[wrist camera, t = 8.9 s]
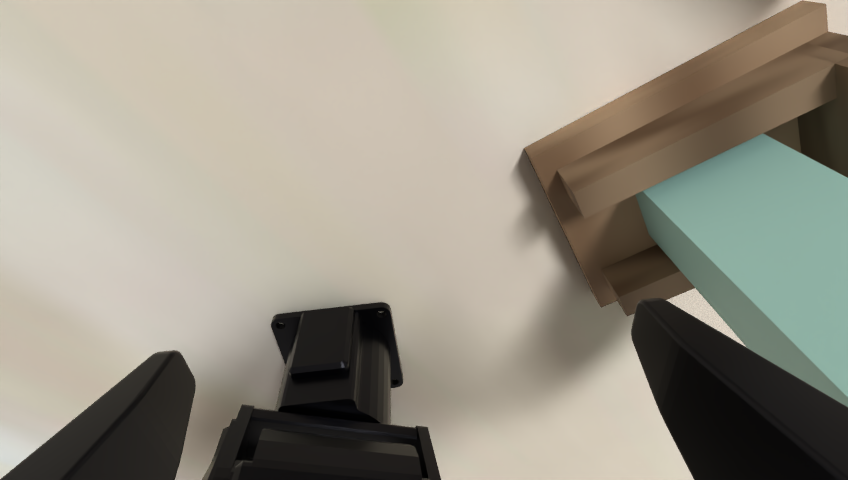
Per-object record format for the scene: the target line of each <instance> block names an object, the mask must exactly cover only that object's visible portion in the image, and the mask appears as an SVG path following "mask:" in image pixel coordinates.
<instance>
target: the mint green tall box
mask: <svg viewBox="0 0 848 480" xmlns="http://www.w3.org/2000/svg"><path fill="white" fill-rule="evenodd" d="M635 195H636V198H637V201H638V204H639V207H640V210H641V213H642V216H643V218H644V221H645V224H646V227H647V230H648V233H649V235H650V236H651V238H652V239H653V240H654V241H655V242H656V243H657V244H658V246H659V247H660V248H661V249H662V250H663V251H664V252H665V254H666V255H667V256H668V257H669V258H670V259H671V260H672V262H673V263H674V264H675V265H676V266H677V267H678V268H679V270H680V271H681V272H682V273H683V274H684V275H685V277H686V278H687V279H688V280H689V281H690V282H691V283H692V285H693V286H694V287H695V288H696V289H697V290H698V291H699V293H700V294H701V295H702V296H703V297H704V298H705V299H706V301H707V302H708V303H709V304H710V305H711V306H712V308H713V309H714V310H715V311H716V312H717V313H718V314H719V316H720V317H721V318H722V319H723V320H724V321H725V322H726V324H727V325H728V326H729V327H730V328H731V329H732V330H733V332H734V333H735V334H736V335H737V336H738V337H739V338H740V340H741V341H742V342H743V343H744V344H745V345H746V347H747V348H748V349H750V350H752V351H753V352H755V353H757V354H758V355H760V356H762V357H763V358H765V359H767V360H769V361H770V362H772V363H774V364H775V365H777V366H779V367H781V368H782V369H784V370H786V371H787V372H789V373H791V374H792V375H794V376H796V377H798V378H799V379H801V380H803V381H804V382H806V383H808V384H810V385H811V386H813V387H815V388H816V389H818V390H820V391H821V392H823V393H825V394H827V395H828V396H830V397H832V398H833V399H835V400H837V401H839V402H840V403H842V404H844V405H845V406H847V407H848V178H847V177H845V176H843V175H841V174H839V173H837V172H836V171H834V170H832V169H830V168H828V167H826V166H824V165H822V164H820V163H818V162H817V161H815V160H813V159H811V158H809V157H807V156H805V155H803V154H801V153H799V152H797V151H796V150H794V149H792V148H790V147H788V146H786V145H784V144H782V143H780V142H778V141H776V140H775V139H773V138H771V137H769V136H767V135H765V134H761V135H758V136H756V137H754V138H752V139H750V140H748V141H746V142H744V143H742V144H740V145H738V146H735V147H733V148H731V149H729V150H727V151H725V152H723V153H721V154H719V155H717V156H715V157H713V158H710V159H708V160H706V161H704V162H702V163H700V164H698V165H696V166H694V167H692V168H690V169H687V170H685V171H683V172H681V173H679V174H677V175H675V176H673V177H671V178H669V179H667V180H664V181H662V182H660V183H658V184H656V185H654V186H652V187H650V188H648V189H646V190H644V191H641V192H639V193H637V194H635Z"/></svg>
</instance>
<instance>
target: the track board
mask: <svg viewBox="0 0 848 480" xmlns="http://www.w3.org/2000/svg"><path fill="white" fill-rule="evenodd" d="M761 134H765V135H767V136H769V137H771V138H773V139H775V140H776V141H778V142H780V143H782V144H784V145H786V146H788V147H790V148H792V149H794V150H796V151H797V152H799V153H801V154H803V155H805V156H807V157H809V158H811V159H813V160H815V161H817V162H818V163H820V164H822V165H824V166H826V167H828V168H830V169H832V170H834V171H836V172H837V173H839V174H841V175H843V176H845V177H847V178H848V36H846V35H841V34H837V33H832V32H828V26H827V10H826V4H822V3H816V2H809V1H800V2H799V3H797V4H795V5H793V6H791V7H789V8H787V9H785V10H783V11H782V12H780V13H778V14H776V15H774V16H772V17H770V18H768V19H766V20H765V21H763V22H761V23H759V24H757V25H755V26H753V27H751V28H750V29H748V30H746V31H744V32H742V33H740V34H738V35H736V36H734V37H733V38H731V39H729V40H727V41H725V42H723V43H721V44H719V45H718V46H716V47H714V48H712V49H710V50H708V51H706V52H704V53H702V54H701V55H699V56H697V57H695V58H693V59H691V60H689V61H687V62H686V63H684V64H682V65H680V66H678V67H676V68H674V69H672V70H670V71H669V72H667V73H665V74H663V75H661V76H659V77H657V78H655V79H653V80H652V81H650V82H648V83H646V84H644V85H642V86H640V87H638V88H637V89H635V90H633V91H631V92H629V93H627V94H625V95H623V96H621V97H620V98H618V99H616V100H614V101H612V102H610V103H608V104H606V105H605V106H603V107H601V108H599V109H597V110H595V111H593V112H591V113H589V114H588V115H586V116H584V117H582V118H580V119H578V120H576V121H574V122H573V123H571V124H569V125H567V126H565V127H563V128H561V129H559V130H557V131H556V132H554V133H552V134H550V135H548V136H546V137H544V138H542V139H540V140H539V141H537V142H535V143H533V144H531V145H529V146H527V147H525V148H524V149H525V151H526V153H527V155H528V158H529V160H530V162H531V164H532V166H533V168H534V170H535V172H536V174H537V176H538V179H539V181H540V183H541V185H542V187H543V189H544V191H545V193H546V195H547V198H548V200H549V202H550V204H551V206H552V208H553V210H554V212H555V214H556V216H557V219H558V221H559V223H560V225H561V227H562V229H563V231H564V233H565V235H566V238H567V240H568V242H569V244H570V246H571V248H572V250H573V252H574V254H575V256H576V259H577V261H578V263H579V265H580V267H581V269H582V271H583V273H584V275H585V278H586V280H587V282H588V284H589V286H590V288H591V290H592V292H593V294H594V296H595V298H596V299H597V301H598V303H599V305H600V306H601V307H603V306H606V305H608V304H610V303H613V302H615V301H618V302H619V304H620V306H621V307H622V309H623V310H624V312H625V314H626V315H627V316H629V315H632V314H634V313H635V310H636V306H637V303H638V302H639V301H640V300H642V299H650V298H662V299H664V300H667V299H670V298H672V297H674V296H677V295H679V294H682V293H684V292H686V291H689V290H691V289H694V288H695V287H694V286H693V285H692V283H691V282H690V281H689V280H688V279H687V278H686V277H685V275H684V274H683V273H682V272H681V271H680V270H679V268H678V267H677V266H676V265H675V264H674V263H673V262H672V260H671V259H670V258H669V257H668V256H667V255H666V254H665V252H664V251H663V250H662V249H661V248H660V247H659V246H658V244H657V243H656V242H655V241H654V240H653V239H652V238H651V236H650V235H649V233H648V230H647V227H646V224H645V221H644V218H643V216H642V213H641V210H640V207H639V204H638V201H637V198H636V195H635V194H637V193H639V192H641V191H644V190H646V189H648V188H650V187H652V186H654V185H656V184H658V183H660V182H662V181H664V180H667V179H669V178H671V177H673V176H675V175H677V174H679V173H681V172H683V171H685V170H687V169H690V168H692V167H694V166H696V165H698V164H700V163H702V162H704V161H706V160H708V159H710V158H713V157H715V156H717V155H719V154H721V153H723V152H725V151H727V150H729V149H731V148H733V147H735V146H738V145H740V144H742V143H744V142H746V141H748V140H750V139H752V138H754V137H756V136H758V135H761Z"/></svg>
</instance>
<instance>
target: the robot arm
mask: <svg viewBox="0 0 848 480" xmlns="http://www.w3.org/2000/svg"><path fill="white" fill-rule="evenodd" d="M378 311H384V312H383V313H379V312H378ZM279 322H282V323H284V324H280V323H279ZM271 327H272V330H273V333H274V335H275V338H276V341H277V343H278V346H279V348H280V351H281V354H282V356H283V359H284V362H285V364H286V368H285V372H284V376H283V380H282V384H281V388H280V392H279V396H278V400H277V404H276V408H275V411H273V410H265V409H256V408H254V406H249V405H242V406H241V409H240V411H239V413H238V416H237V418H236V419H232V421H231V424H230V426H229V427H227V428H225V429H223V432H222V435H221V438H220V441H219V444H218V446H217V449H216V452H215V455H214V458H213V460H212V462H211V465H210V467H209V468H208V470H207V472H206V474H205V475H204V477H203V479H202V480H441V478H440V474H439V470H438V466H437V462H436V458H435V454H434V450H433V446H432V443H431V439H430V435H429V431H428V427H422V426H416V427H415V428H414V427H405V426H397V425H391V388H396V387H399V386H401V385H402V384H403V374H402V369H401V363H400V358H399V352H398V346H397V341H396V335H395V330H394V324H393V319H392V313H391V308H390V306H389V305H388V304H386V303H382V302H380V303H371V304H362V305H353V306H345V307H336V308H327V309H318V310H309V311H301V312H292V313H283V314H277V315H275V316H274V317H273V320H272V323H271ZM631 335H632V341H633V344H634V346H635V349H636V352H637V354H638V357H639V359H640V362H641V365H642V367H643V370H644V373H645V375H646V378H647V380H648V383H649V386H650V388H651V391H652V394H653V396H654V399H655V401H656V404H657V406H658V409H659V411H660V413H661V415H662V417H663V420H664V422H665V424H666V426H667V428H668V430H669V432H670V433H671V435H672V437H673V439H674V441H675V443H676V445H677V447H678V449H679V451H680V453H681V455H682V457H683V459H684V461H685V463H686V465H687V467H688V469H689V470H690V472H691V474H692V476H693V478H694V480H848V407H847V406H845V405H844V404H842V403H840V402H839V401H837V400H835V399H833V398H832V397H830V396H828V395H827V394H825V393H823V392H821V391H820V390H818V389H816V388H815V387H813V386H811V385H810V384H808V383H806V382H804V381H803V380H801V379H799V378H798V377H796V376H794V375H792V374H791V373H789V372H787V371H786V370H784V369H782V368H781V367H779V366H777V365H775V364H774V363H772V362H770V361H769V360H767V359H765V358H763V357H762V356H760V355H758V354H757V353H755V352H753V351H752V350H750V349H748V348H746V347H745V346H743V345H741V344H740V343H738V342H736V341H734V340H733V339H731V338H729V337H728V336H726V335H724V334H723V333H721V332H719V331H717V330H716V329H714V328H712V327H711V326H709V325H707V324H705V323H704V322H702V321H700V320H699V319H697V318H695V317H694V316H692V315H690V314H688V313H687V312H685V311H683V310H682V309H680V308H678V307H676V306H675V305H673V304H671V303H670V302H668V301H666V300H664V299H662V298H650V299H642V300H640V301H639V302H638V303H637V306H636V310H635V315H634V320H633V324H632V330H631ZM393 379H396V380H393ZM194 393H195V379H194V376H193V374H192V372H191V371H190V369H189V367H188V365H187V363H186V361H185V360H184V358H183V356H182V354H181V353H180V352H178V351H175V350H173V351H164V352H157V353H155V354H153V355H152V356H150V357H149V358H148V359H147V360H146V361H144V362H143V363H142V364H141V365H139V366H138V367H137V368H136V369H135V370H133V371H132V372H131V373H130V374H128V375H127V376H126V377H125V378H124V379H122V380H121V381H120V382H119V383H117V384H116V385H115V386H114V387H113V388H111V389H110V390H109V391H108V392H106V393H105V394H104V395H103V396H102V397H100V398H99V399H98V400H97V401H95V402H94V403H93V404H92V405H91V406H89V407H88V408H87V409H86V410H84V411H83V412H82V413H81V414H80V415H78V416H77V417H76V418H75V419H73V420H72V421H71V422H70V423H69V424H67V425H66V426H65V427H64V428H63V429H61V430H60V431H59V432H58V433H56V434H55V435H54V436H53V437H52V438H50V439H49V440H48V441H47V442H45V443H44V444H43V445H42V446H41V447H39V448H38V449H37V450H36V451H34V452H33V453H32V454H31V455H29V456H28V457H27V458H26V459H25V460H23V461H22V462H21V463H20V464H18V465H17V466H16V467H15V468H14V469H12V470H11V471H10V472H9V473H7V474H6V475H5V476H4V477H3V478H1V479H0V480H175V477H176V473H177V470H178V467H179V463H180V459H181V455H182V450H183V446H184V441H185V436H186V431H187V427H188V422H189V417H190V412H191V408H192V403H193V398H194Z"/></svg>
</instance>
